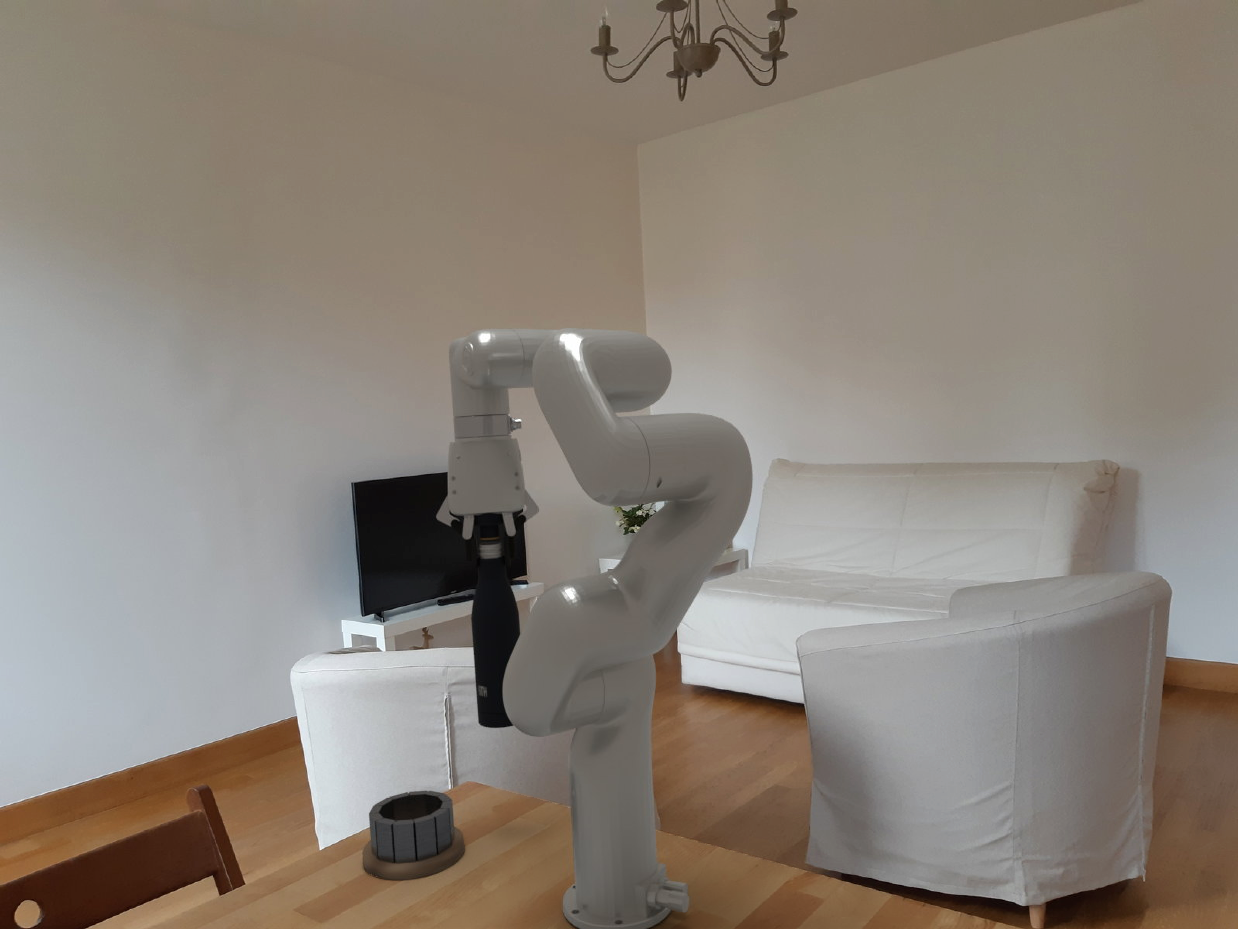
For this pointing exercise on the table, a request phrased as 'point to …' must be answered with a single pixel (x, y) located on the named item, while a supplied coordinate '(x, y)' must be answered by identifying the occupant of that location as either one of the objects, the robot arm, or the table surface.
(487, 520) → the black tall rounded piece
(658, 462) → the robot arm
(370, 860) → the bottle stand
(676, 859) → the table surface
